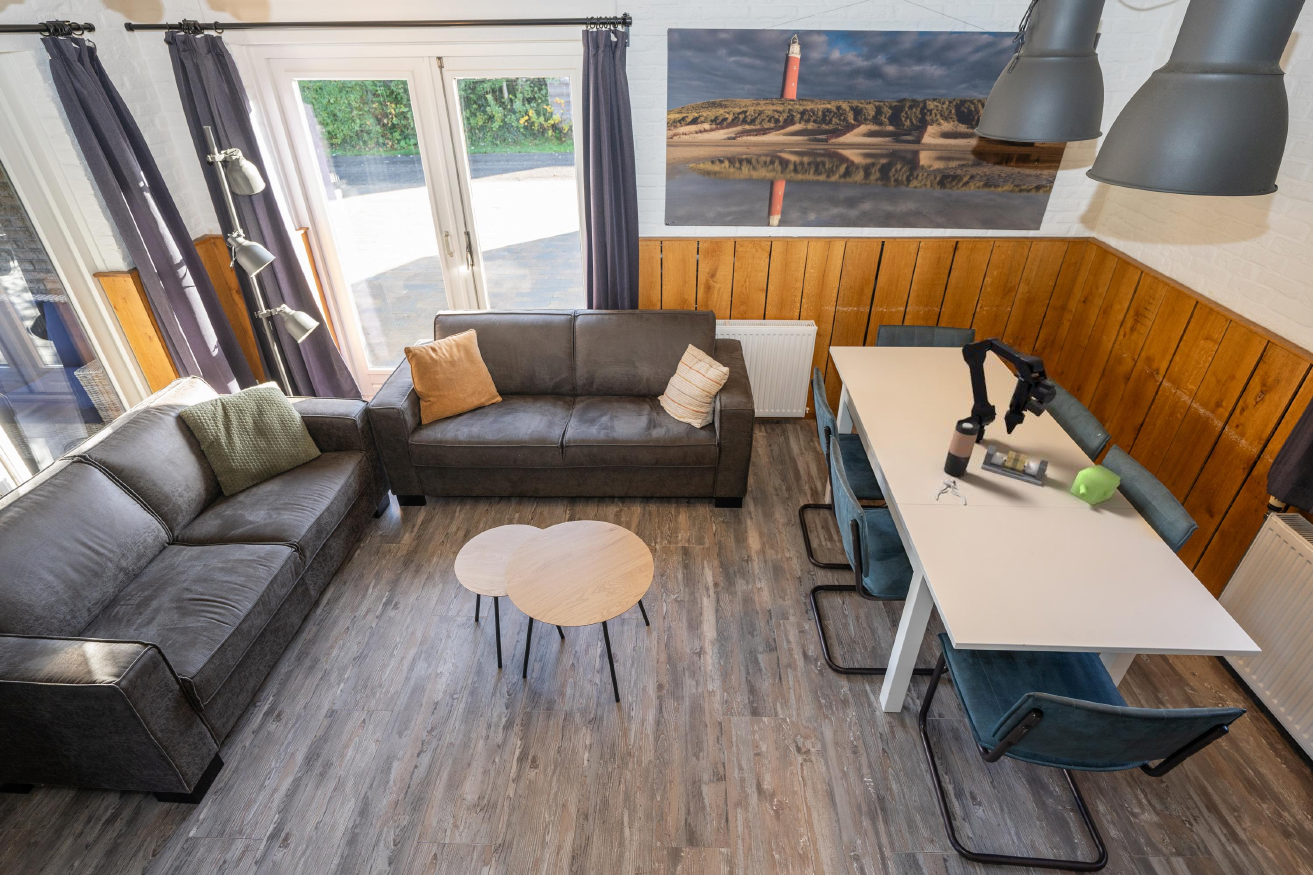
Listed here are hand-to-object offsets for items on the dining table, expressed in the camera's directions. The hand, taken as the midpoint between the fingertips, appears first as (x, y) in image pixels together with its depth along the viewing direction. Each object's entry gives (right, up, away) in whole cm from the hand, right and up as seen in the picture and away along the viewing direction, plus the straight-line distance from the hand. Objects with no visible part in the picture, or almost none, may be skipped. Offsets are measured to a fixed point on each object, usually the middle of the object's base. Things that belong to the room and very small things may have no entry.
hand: (1010, 428), depth 248 cm
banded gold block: (-1, -15, -3) cm, 15 cm away
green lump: (+20, -24, -16) cm, 35 cm away
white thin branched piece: (-30, -22, -14) cm, 40 cm away
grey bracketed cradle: (-1, -16, -3) cm, 16 cm away
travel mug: (-23, -16, -4) cm, 28 cm away
